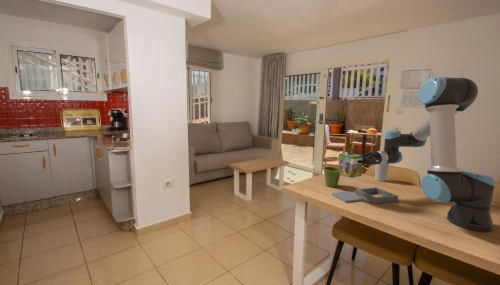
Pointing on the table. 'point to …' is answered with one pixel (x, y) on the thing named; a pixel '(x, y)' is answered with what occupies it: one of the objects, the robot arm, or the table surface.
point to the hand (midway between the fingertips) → (344, 159)
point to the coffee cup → (381, 172)
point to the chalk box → (349, 164)
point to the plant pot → (331, 176)
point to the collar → (385, 195)
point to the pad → (347, 196)
